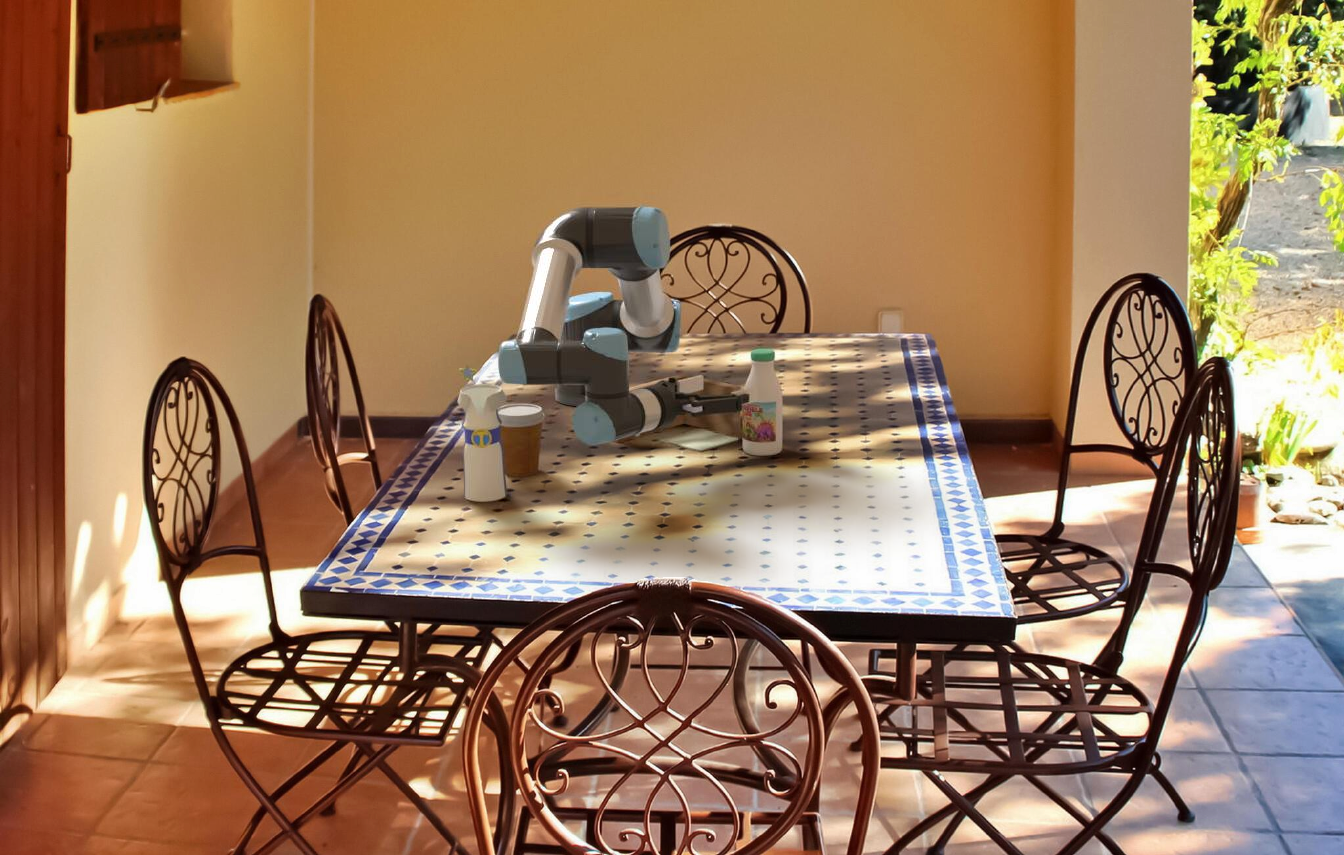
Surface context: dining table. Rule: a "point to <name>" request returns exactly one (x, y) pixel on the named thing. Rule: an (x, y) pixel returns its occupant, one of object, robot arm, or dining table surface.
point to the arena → (700, 419)
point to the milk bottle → (763, 407)
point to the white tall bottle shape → (482, 440)
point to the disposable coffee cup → (521, 437)
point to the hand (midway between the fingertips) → (728, 387)
